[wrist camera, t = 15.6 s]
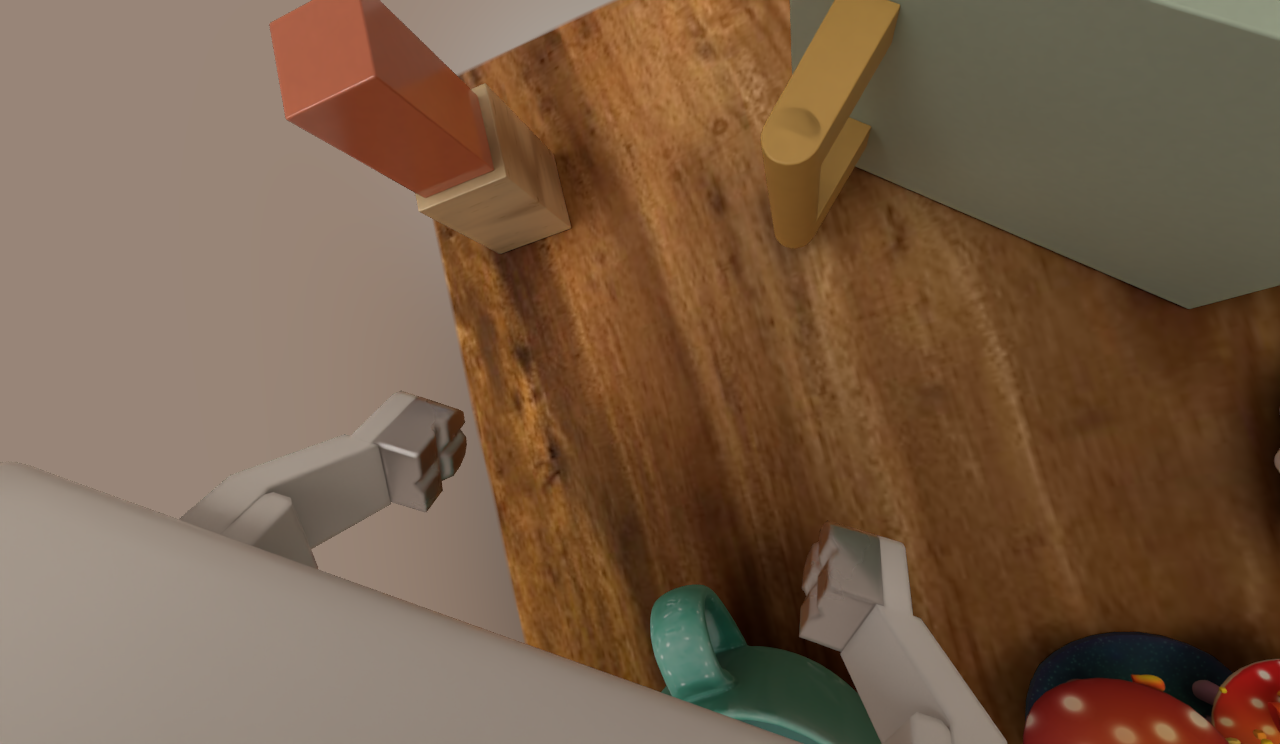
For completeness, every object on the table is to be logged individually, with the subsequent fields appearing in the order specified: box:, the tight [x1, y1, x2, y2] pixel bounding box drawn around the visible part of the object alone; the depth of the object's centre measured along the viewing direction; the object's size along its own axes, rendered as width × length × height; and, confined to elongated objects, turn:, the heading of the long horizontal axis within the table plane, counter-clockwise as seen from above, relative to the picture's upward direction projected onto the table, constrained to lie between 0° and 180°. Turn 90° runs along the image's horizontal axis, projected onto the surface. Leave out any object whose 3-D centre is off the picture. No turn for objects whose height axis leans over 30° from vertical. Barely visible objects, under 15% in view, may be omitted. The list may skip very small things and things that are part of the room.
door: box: [760, 0, 1280, 309], centre depth 21 cm, size 7×20×16 cm, turn 59°
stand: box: [415, 84, 571, 254], centre depth 32 cm, size 5×5×8 cm
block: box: [269, 0, 494, 198], centre depth 24 cm, size 4×4×8 cm
